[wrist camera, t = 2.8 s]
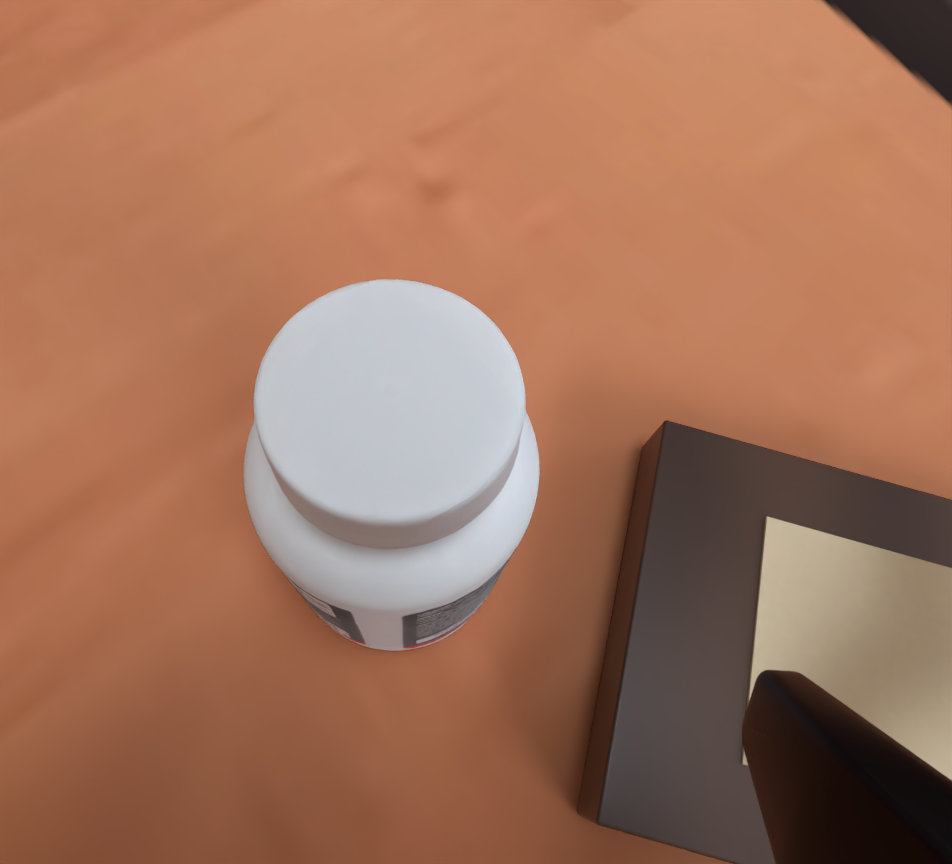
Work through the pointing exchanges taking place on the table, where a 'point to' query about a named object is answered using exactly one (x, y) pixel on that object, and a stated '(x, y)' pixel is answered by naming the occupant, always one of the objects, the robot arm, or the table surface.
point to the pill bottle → (391, 460)
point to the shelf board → (759, 629)
